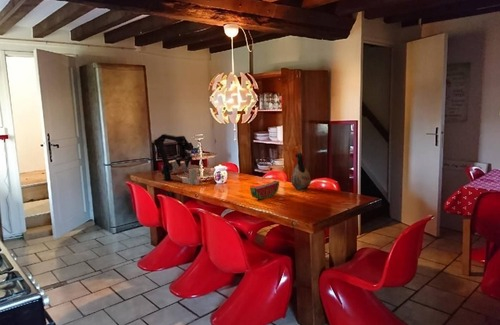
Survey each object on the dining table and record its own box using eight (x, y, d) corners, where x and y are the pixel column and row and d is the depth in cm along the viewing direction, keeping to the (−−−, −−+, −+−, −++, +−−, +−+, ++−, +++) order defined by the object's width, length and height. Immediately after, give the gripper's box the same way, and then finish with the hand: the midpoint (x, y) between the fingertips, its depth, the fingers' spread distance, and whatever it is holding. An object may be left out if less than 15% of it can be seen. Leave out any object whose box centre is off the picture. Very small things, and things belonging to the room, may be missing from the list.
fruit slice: (255, 202, 263) (255, 188, 261) (249, 200, 267) (249, 187, 266) (280, 194, 281) (279, 181, 279) (274, 192, 285) (273, 180, 283)
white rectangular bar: (182, 182, 331) (182, 178, 331) (184, 182, 333) (184, 177, 332) (197, 184, 321) (197, 180, 320) (199, 184, 323) (199, 179, 322)
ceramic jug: (289, 187, 298) (288, 151, 293) (308, 186, 299) (307, 149, 294) (293, 193, 282) (293, 154, 276) (313, 192, 283) (313, 153, 277)
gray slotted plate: (192, 184, 322) (191, 170, 320) (189, 184, 324) (188, 169, 321) (196, 183, 327) (195, 168, 324) (194, 182, 329) (193, 168, 326)
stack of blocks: (183, 169, 388) (182, 158, 386) (187, 170, 384) (186, 158, 382) (166, 173, 373) (165, 161, 370) (170, 174, 368) (169, 162, 366)
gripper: (196, 149, 332) (197, 166, 335) (181, 148, 343) (182, 164, 346) (187, 151, 324) (188, 168, 327) (172, 150, 334) (173, 166, 337)
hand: (183, 167), depth 334 cm, fingers open, 9 cm apart
